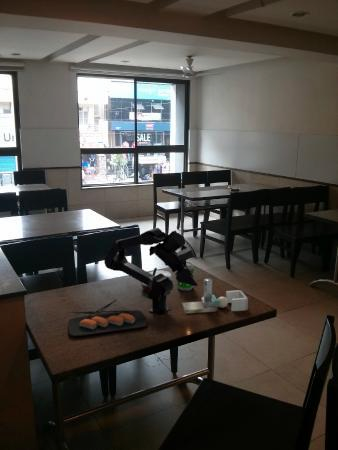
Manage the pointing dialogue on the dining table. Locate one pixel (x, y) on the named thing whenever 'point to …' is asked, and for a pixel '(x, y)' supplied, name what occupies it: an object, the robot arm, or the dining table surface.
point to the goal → (237, 300)
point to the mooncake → (162, 273)
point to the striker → (208, 294)
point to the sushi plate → (106, 322)
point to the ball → (222, 302)
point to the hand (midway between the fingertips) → (194, 280)
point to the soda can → (183, 285)
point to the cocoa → (146, 285)
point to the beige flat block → (197, 307)
